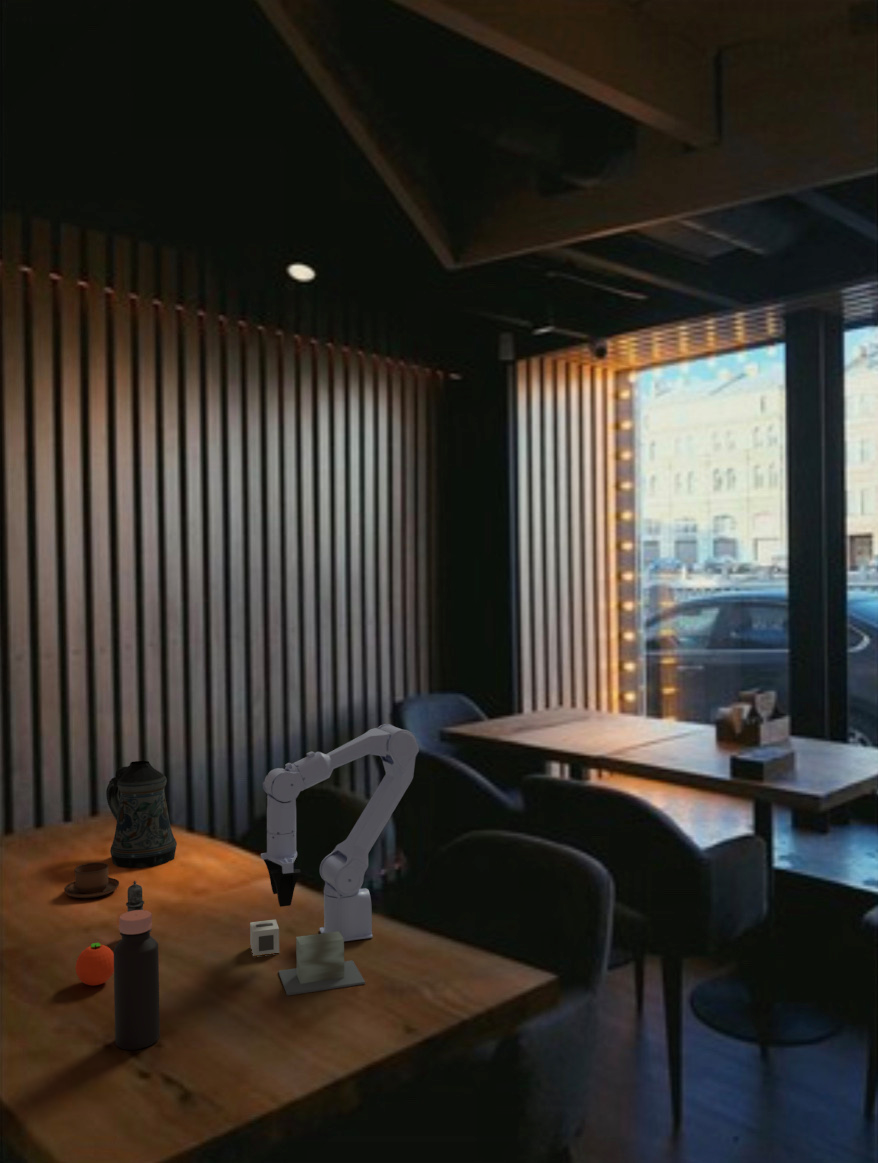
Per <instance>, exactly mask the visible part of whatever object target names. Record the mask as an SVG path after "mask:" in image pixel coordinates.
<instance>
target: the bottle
mask: <svg viewBox="0 0 878 1163" xmlns="http://www.w3.org/2000/svg"><path fill="white" fill-rule="evenodd" d="M118 917H119V919H118V921H119V922H118V925H119V934H120V937H121V939H120V941H119V942H118V943H117V944H116V945H115V947H114V949H113V953H114V973H113V989H114V991H113V992H114V994H113V995H114V1043H115V1044H116V1046H117V1047H118V1048H120V1049H123V1050H126V1051H135V1050H141V1049H145V1048H148V1047H150V1046H152V1045H154V1044H155V1043H157V1041H158V1040H159V1038H160V1032H161V1030H160V1026H161V1025H160V1021H161V1020H160V1016H161V1015H160V974H159V973H160V968H159V966H160V965H159V963H160V962H159V960H160V959H159V943H158V942H157V940H156V939H155V938H154V937H153V936H152V935H151V932H152V927H153V919H152V918H153V913H152V912H151V911H149V910H146V909H145V910H144V909H143V910H134V911H129V912H128V911H126V912H124V913H122V914H121V915H120V916H118Z"/></svg>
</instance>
